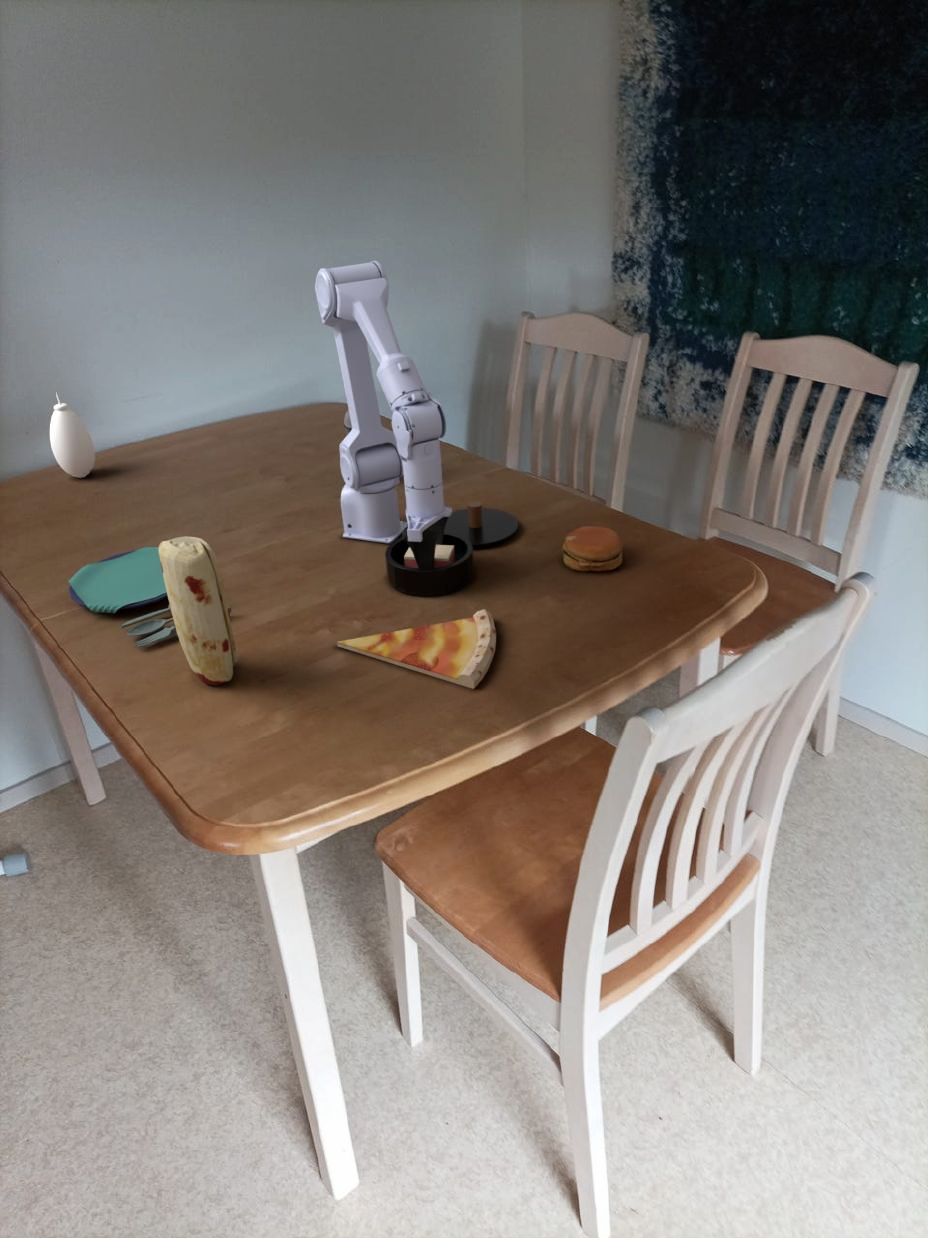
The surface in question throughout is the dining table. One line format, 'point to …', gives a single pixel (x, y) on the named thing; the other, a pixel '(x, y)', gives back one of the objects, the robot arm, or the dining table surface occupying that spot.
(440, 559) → the red and cream block
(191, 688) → the dining table surface
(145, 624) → the cutlery set
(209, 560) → the food model
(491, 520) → the pan lid
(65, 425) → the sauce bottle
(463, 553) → the pan
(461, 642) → the pizza slice
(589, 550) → the burger
